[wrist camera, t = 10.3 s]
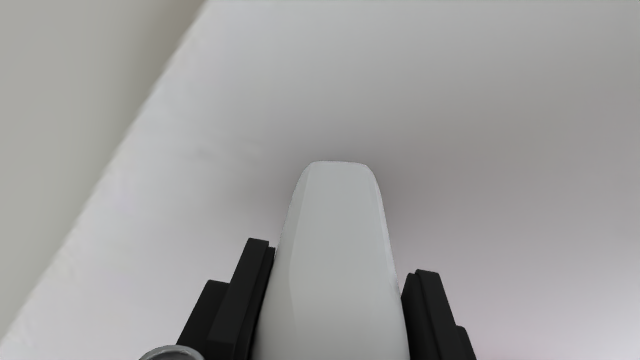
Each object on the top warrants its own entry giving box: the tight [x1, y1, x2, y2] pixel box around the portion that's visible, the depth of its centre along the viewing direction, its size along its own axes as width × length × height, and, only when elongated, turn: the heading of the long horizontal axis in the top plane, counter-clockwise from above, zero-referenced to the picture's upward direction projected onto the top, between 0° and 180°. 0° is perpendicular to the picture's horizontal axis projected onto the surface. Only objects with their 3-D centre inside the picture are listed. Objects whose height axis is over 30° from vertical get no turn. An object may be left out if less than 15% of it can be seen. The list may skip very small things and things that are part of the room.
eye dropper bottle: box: [249, 161, 410, 360], centre depth 11 cm, size 4×6×12 cm
